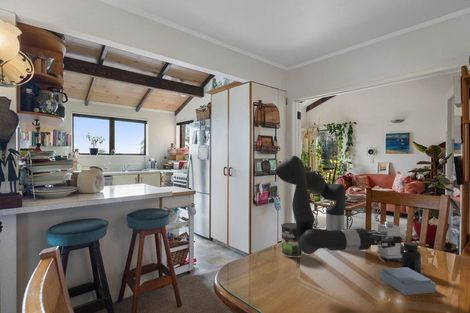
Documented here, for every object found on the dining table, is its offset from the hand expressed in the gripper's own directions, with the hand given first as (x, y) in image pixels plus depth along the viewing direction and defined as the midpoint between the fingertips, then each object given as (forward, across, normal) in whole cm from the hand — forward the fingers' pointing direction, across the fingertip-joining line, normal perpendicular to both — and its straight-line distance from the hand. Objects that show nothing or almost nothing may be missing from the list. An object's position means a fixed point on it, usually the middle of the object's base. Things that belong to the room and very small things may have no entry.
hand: (395, 237), depth 94 cm
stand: (+3, -1, +18) cm, 18 cm away
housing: (-3, 0, +6) cm, 7 cm away
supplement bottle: (+13, +8, +18) cm, 24 cm away
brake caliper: (+15, +21, +18) cm, 32 cm away
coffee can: (-28, +34, +18) cm, 48 cm away
